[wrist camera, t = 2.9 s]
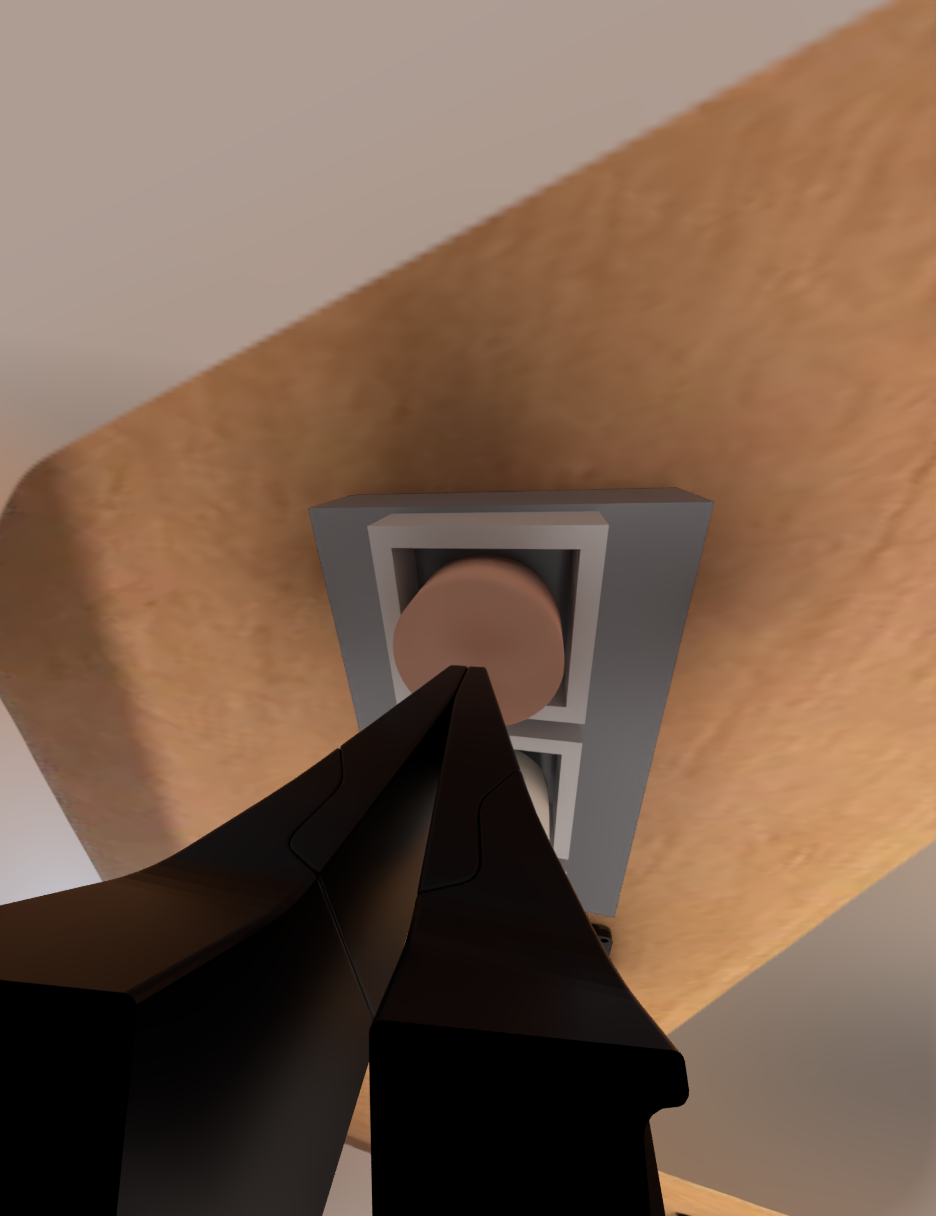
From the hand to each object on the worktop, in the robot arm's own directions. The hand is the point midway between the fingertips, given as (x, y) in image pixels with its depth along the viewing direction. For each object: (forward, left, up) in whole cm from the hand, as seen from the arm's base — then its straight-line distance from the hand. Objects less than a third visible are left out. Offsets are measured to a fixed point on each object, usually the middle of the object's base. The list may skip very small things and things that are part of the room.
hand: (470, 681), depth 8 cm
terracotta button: (0, 0, -3) cm, 3 cm away
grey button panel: (-7, 0, -7) cm, 10 cm away
